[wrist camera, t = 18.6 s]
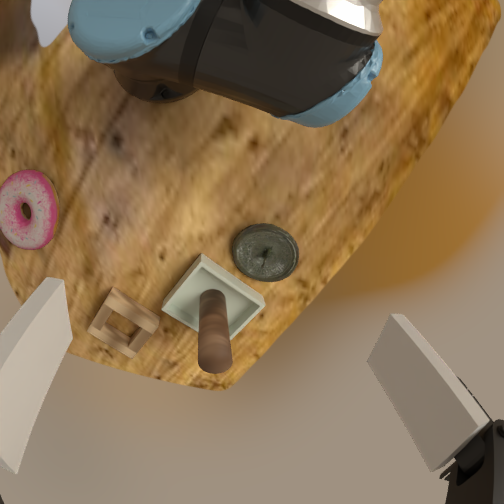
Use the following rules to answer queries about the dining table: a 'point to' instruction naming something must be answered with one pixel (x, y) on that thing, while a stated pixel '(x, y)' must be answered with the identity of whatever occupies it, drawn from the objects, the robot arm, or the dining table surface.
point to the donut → (40, 202)
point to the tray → (212, 277)
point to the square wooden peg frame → (133, 313)
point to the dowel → (213, 333)
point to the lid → (265, 252)
